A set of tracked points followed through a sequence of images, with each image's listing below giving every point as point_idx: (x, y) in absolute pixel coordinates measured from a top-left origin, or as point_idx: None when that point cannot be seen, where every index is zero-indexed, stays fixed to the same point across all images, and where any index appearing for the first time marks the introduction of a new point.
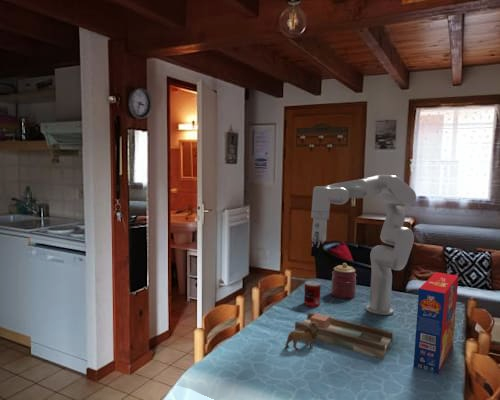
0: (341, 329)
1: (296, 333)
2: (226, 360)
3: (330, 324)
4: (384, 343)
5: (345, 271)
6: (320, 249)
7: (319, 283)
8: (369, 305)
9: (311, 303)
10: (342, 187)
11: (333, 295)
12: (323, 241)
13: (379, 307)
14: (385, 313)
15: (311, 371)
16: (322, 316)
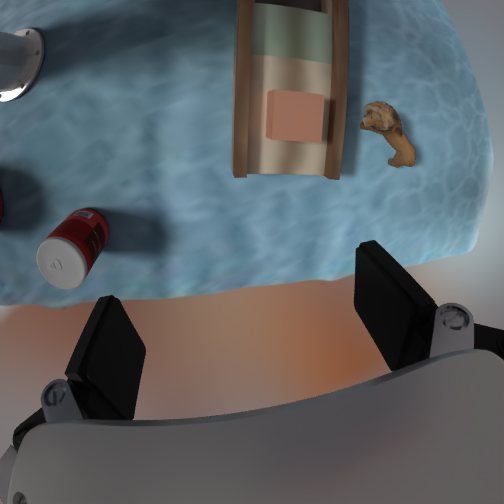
0: (274, 54)
1: (414, 149)
2: (449, 232)
3: (255, 92)
4: None
5: None
6: (115, 337)
7: (44, 246)
8: (13, 87)
9: (103, 225)
10: None
11: (1, 215)
12: (432, 373)
13: (27, 48)
14: (38, 32)
15: (442, 97)
16: (291, 111)
